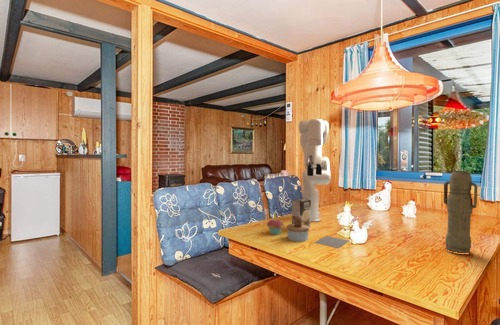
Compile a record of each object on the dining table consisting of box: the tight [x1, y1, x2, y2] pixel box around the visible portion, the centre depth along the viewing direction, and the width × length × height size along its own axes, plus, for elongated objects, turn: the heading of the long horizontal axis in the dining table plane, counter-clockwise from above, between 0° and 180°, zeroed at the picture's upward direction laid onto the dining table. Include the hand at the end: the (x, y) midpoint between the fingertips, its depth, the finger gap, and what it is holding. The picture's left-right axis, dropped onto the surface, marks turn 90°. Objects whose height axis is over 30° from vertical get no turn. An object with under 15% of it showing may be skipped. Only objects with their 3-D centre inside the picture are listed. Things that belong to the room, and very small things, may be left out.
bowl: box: [287, 229, 309, 242], centre depth 141 cm, size 10×10×5 cm
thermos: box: [443, 170, 478, 253], centre depth 125 cm, size 9×12×35 cm
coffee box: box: [291, 198, 311, 229], centre depth 160 cm, size 9×6×16 cm
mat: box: [313, 235, 350, 249], centre depth 136 cm, size 14×12×1 cm
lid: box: [286, 216, 310, 232], centre depth 141 cm, size 11×11×6 cm
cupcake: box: [266, 212, 284, 235], centre depth 150 cm, size 9×8×12 cm
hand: (314, 175), depth 153 cm, fingers open, 9 cm apart
